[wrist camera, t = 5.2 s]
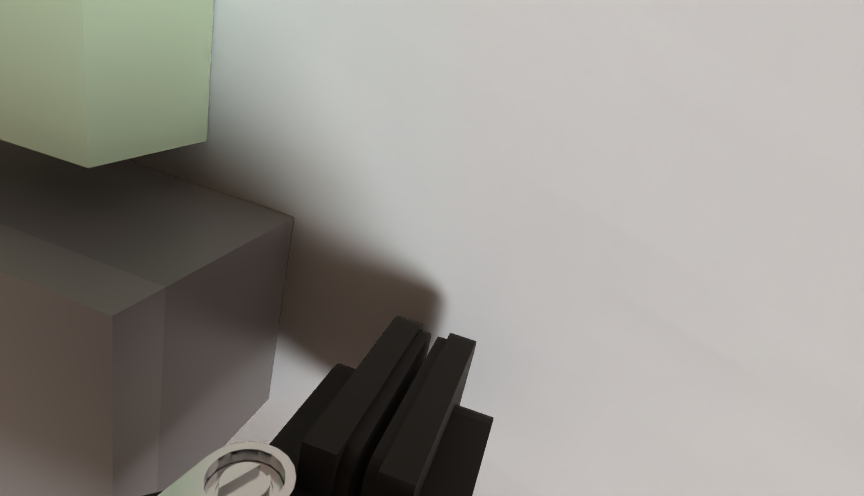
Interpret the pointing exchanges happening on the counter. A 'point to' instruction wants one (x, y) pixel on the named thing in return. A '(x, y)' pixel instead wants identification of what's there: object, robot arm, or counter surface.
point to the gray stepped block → (128, 323)
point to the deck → (104, 76)
